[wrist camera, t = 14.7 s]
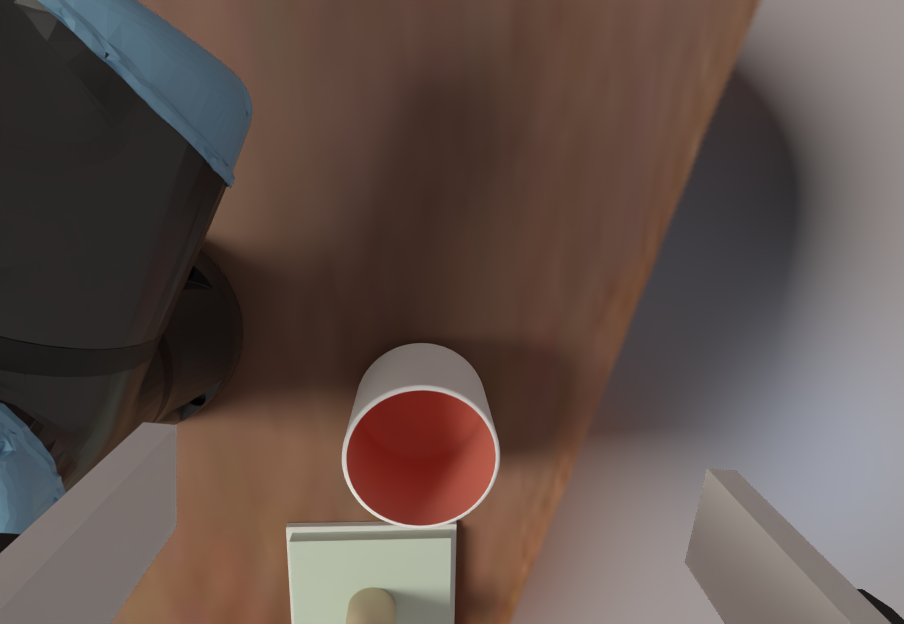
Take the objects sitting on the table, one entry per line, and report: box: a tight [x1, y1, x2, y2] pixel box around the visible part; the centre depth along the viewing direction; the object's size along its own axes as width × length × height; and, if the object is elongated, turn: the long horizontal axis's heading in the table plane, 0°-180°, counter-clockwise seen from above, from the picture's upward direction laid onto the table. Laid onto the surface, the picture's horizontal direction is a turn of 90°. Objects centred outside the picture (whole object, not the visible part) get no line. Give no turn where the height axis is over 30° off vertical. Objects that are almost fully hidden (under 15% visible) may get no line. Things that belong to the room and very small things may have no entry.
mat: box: [286, 521, 457, 624], centre depth 51 cm, size 14×14×1 cm
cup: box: [342, 343, 500, 528], centre depth 42 cm, size 10×10×10 cm
